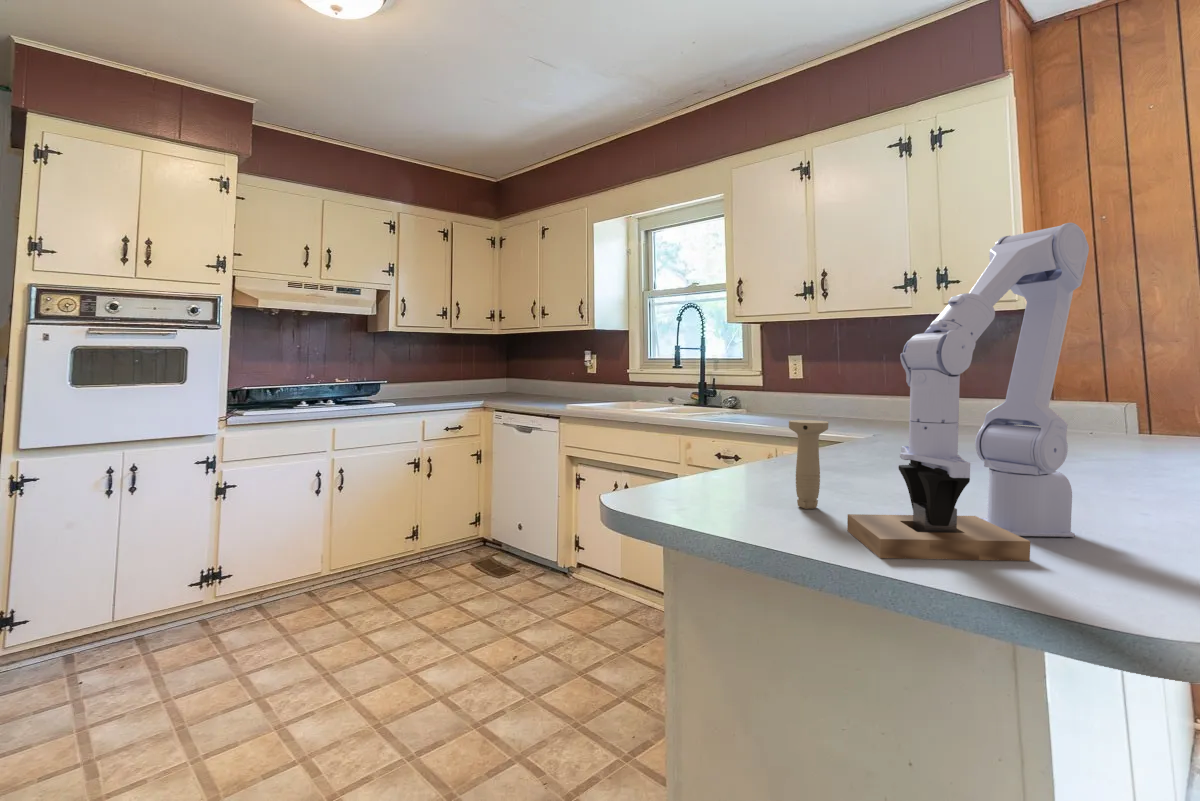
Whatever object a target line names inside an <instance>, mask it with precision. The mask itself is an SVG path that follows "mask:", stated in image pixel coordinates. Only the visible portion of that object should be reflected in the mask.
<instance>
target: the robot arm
mask: <svg viewBox="0 0 1200 801" xmlns="http://www.w3.org/2000/svg"><path fill="white" fill-rule="evenodd" d="M1089 251H1090V247H1089V243H1088V240H1087V236H1086V234H1085V232H1084V231H1083V229H1082V228H1081V227H1080V226H1079V225H1078V224H1076V223H1074V222H1066V223H1063V224H1061V225H1058V226H1053V227H1048V228H1041V229H1038V230H1032V231H1029V232H1024V233H1023V232H1022V233H1019V234H1013V235H1005V236H1002V237H1000V238H999V239H997V241H996V242H995V244H994V246H992V247H991V248H990V250H989V256H988V257H989V264H988V265H987V266H986V268H985V269H984V271H983V272H982V273H981V275H980V276H979V278H978V279H977V281H976V282H975V284H974V285H973V286H972V288H971V289H970V291H969V292H967V293H966V292H965V293H960V294H957V295H953V296H951V297H950V298H949V300H948V301H947V303H948V304H947V305H946V306H945V308H944V309H943V310H942V311H941V312H940V313H939V315H938V316H936V318H935V319H934V320H933V321H932V322H931V323H930V325H929V326H928V327H927V329H925V331H923V332H922V333H917V334H914V335H913V336H912V337H911V338H910V339H909V340H907V341H906V343H905V344H904V346H903V350H902V352H901V353H900V355H899V356H900V358H899V359H900V362H901V366H902V368H903V369H904V372H905V375H906V376H905V378H906V379H905V380H906V383H907V386H908V387H909V389H910V390H909V423H908V425H909V426H908V430H909V431H908V433H909V434H908V446H907V445H902V446H901V448H900V449H901V450H900V452H899V458H900V459H901V460H903V461H909V463H908V464H899V465H898V470H899V472H900V474H901V476H902V478H903V479H904V482H905V484H906V487H907V490H908V494H909V498H910V504H911V507H912V509H913V502H920V503H927V510H928V518H929V522H930V524H931V525H933V526H948V525H949V523H950V520H951V517H952V514H953V511H954V508H956V504H957V502H958V501H959V500H958V499H959V498H960V496H961V494H962V492H963V491H964V490H965V488H966V486H968V484H969V483H970V480H971V479H970V478H971V462H969V461H966V460H965V459H964V458H963V457H962V456H960V455H959V454H958V452H959V451H958V450H959V422H960V421H959V419H960V415H959V414H960V383H961V375H962V374H963V373H964V372H965V371H966V370H968V369H969V368H970V366H971V363H972V360H973V353H974V350H975V348H976V345H977V343H976V342H977V341H978V339H979V338H980V336H982V334H983V333H984V332H985V331H986V329H987V328H988V327H989V326H990V325H991V323H992V322H993V321H994V320H995V317H996V309H995V308H994V306H995V305H996V304H997V303H998V302H999V301H1000V300H1001V299H1002V298H1003V297H1004V296H1006V294H1007V293H1008V292H1009V291H1011V292H1012V293H1013V294H1014V295H1017V296H1020V297H1023V298H1024V299H1025V302H1026V305H1025V310H1024V313H1023V314H1024V315H1023V319H1022V324H1021V328H1020V331H1019V332H1020V333H1019V335H1018V336H1019V337H1018V342H1017V346H1016V351H1015V355H1014V360H1013V364H1012V368H1011V373H1010V377H1009V382H1008V386H1007V391H1006V395H1005V400H1004V402H1002V403H1001V404H999V405H997V406H995V407H994V408H992V409H990V410H989V411H987V412H986V413H985V417H984V420H983V424H982V425H981V427H980V428H979V430H978V432H977V434H976V436H975V440H974V441H975V443H974V448H975V450H976V454H977V456H978V457H979V459H980V460H981V461H982V462H983V467H984V468H988V488H987V489H988V490H987V491H988V492H987V493H988V494H987V495H988V496H987V517H980V518H981V519H983V520H985V521H987V522H990V523H992V524H994V525H996V526H998V527H1000V528H1003V529H1005V530H1007V531H1009V532H1011V533H1013V534H1016V535H1018V536H1020V537H1063V538H1064V537H1065V538H1066V537H1067V538H1068V537H1070V538H1071V537H1075V536H1076V535H1075V533H1074V532H1072V508H1073V489H1072V486H1071V483H1070V481H1069V478H1068V477H1067V476H1066V475H1065V474H1063V473H1062V472H1061V471H1057V470H1058V469H1060V468H1061V466H1062V465H1063V464H1064V463H1065V461H1066V459H1067V455H1068V451H1069V450H1068V449H1069V448H1068V447H1069V446H1068V440H1067V436H1068V435H1067V434H1068V433H1067V432H1068V425H1069V424H1068V423H1067V422H1066V421H1065V420H1064V418H1062V417H1061V416H1060V415H1059V414H1057V412H1055V411H1054V410H1053V409H1051V407H1050V403H1051V399H1052V398H1051V397H1052V392H1053V388H1054V383H1055V379H1056V376H1057V375H1056V374H1057V370H1058V365H1059V362H1060V361H1059V360H1060V356H1061V352H1062V347H1063V342H1064V338H1065V333H1066V329H1067V323H1068V319H1069V314H1070V310H1071V305H1072V300H1073V294H1074V291H1075V290H1076V289H1078V288H1079V287H1081V285H1082V283H1083V278H1084V275H1085V271H1086V270H1085V269H1086V265H1087V261H1088V257H1089Z"/></svg>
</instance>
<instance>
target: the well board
mask: <svg viewBox="0 0 1200 801" xmlns="http://www.w3.org/2000/svg"><path fill="white" fill-rule="evenodd" d="M981 518H982V517H979V516H976V515H957V533H938V532H916V531H915V530H913V514H865V513H864V514H847V523H846V524H847V525H846V527H847V528H846V529H847V532H848V533H849V534H851V535H852V536H853V537H854V538H855V539H856V540H858V541H859V542H860V543H861V544H862V545H864V546H865V547H866V548H867V549H868V550H870V551H871V552H872V553H873V554H874V555H876V557H878V558H880V559H899V560H900V559H902V560H903V559H905V560H906V559H907V560H908V559H909V560H911V559H912V560H954V561H955V560H959V561H961V560H962V561H963V560H964V561H965V560H967V561H972V560H973V561H1006V562H1007V561H1009V562H1010V561H1014V562H1018V561H1019V562H1029V561H1031V541H1030V540H1028V539H1026V538H1024V537H1023V536H1018V535H1016V534H1013V533H1011V532H1009V531H1007V530H1005V529H1003V528H1000V527H998V526H996V525H994V524H992V523H990V522H987V521H985V520H983V519H981Z"/></svg>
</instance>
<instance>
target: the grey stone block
mask: <svg viewBox="0 0 1200 801" xmlns="http://www.w3.org/2000/svg"><path fill="white" fill-rule="evenodd" d="M912 515H913V530H915V531H916V532H938V533H957V516H958V509H957V508H956V507H955V508H954V511H953V514H952V517H951V520H950V523H949V525H948V526H933V525H931V524H930V522H929V518H928V510H927V503H920V502H913V508H912Z"/></svg>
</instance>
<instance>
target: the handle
mask: <svg viewBox="0 0 1200 801" xmlns="http://www.w3.org/2000/svg"><path fill="white" fill-rule="evenodd" d="M788 428H789V430H790V431H792V432H794V433H796V434H797V453H796V465H795V466H796V467H795V491H796V495H797V496H796V497H797V498H798V499H797V500H796V501H797V502H796V503H797V507H799V508H802V509H805V510H808V509H809V510H810V509H811V510H812V509H817V507H818V504H819V500H818V499H819V495H820V494H819V493H820V489H821V488H820V487H821V467H820V452H819V450H820V449H819V448H820V446H819V445H820V444H819V442H820V441H819V440H820V434H823V433H825V432H826V431H828V429H829V421H825V420H815V419H813V420H812V419H810V420H809V419H793V420H792V419H791V420H788Z"/></svg>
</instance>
